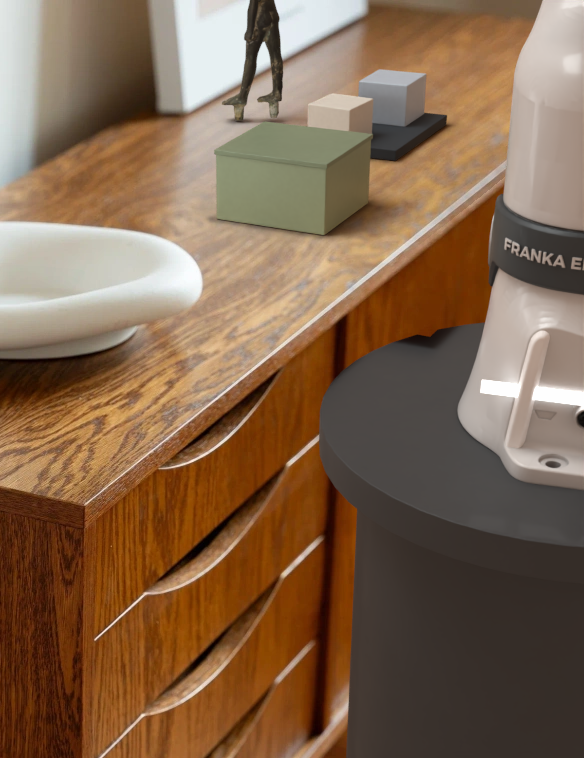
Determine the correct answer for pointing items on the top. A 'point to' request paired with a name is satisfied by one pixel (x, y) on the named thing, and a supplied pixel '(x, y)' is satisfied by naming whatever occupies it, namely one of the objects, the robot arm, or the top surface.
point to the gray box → (395, 96)
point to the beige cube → (342, 113)
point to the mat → (403, 136)
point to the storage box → (293, 177)
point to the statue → (258, 31)
